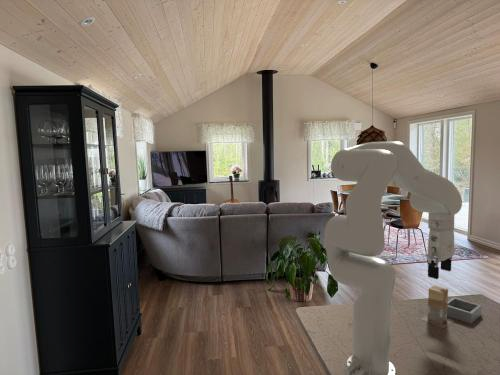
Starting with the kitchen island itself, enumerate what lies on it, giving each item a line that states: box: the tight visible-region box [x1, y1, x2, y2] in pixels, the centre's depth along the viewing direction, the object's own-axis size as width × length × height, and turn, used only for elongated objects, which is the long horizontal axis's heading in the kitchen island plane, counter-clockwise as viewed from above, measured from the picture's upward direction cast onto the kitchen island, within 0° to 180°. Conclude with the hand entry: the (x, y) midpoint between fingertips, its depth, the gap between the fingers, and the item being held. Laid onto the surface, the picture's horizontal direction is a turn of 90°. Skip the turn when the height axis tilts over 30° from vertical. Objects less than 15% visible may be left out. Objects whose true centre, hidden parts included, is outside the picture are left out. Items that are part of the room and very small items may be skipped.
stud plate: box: [419, 313, 456, 329], centre depth 120 cm, size 8×8×6 cm
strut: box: [427, 285, 449, 324], centre depth 119 cm, size 4×4×11 cm
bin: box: [447, 296, 482, 325], centre depth 123 cm, size 9×9×5 cm
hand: (439, 273), depth 118 cm, fingers open, 9 cm apart
